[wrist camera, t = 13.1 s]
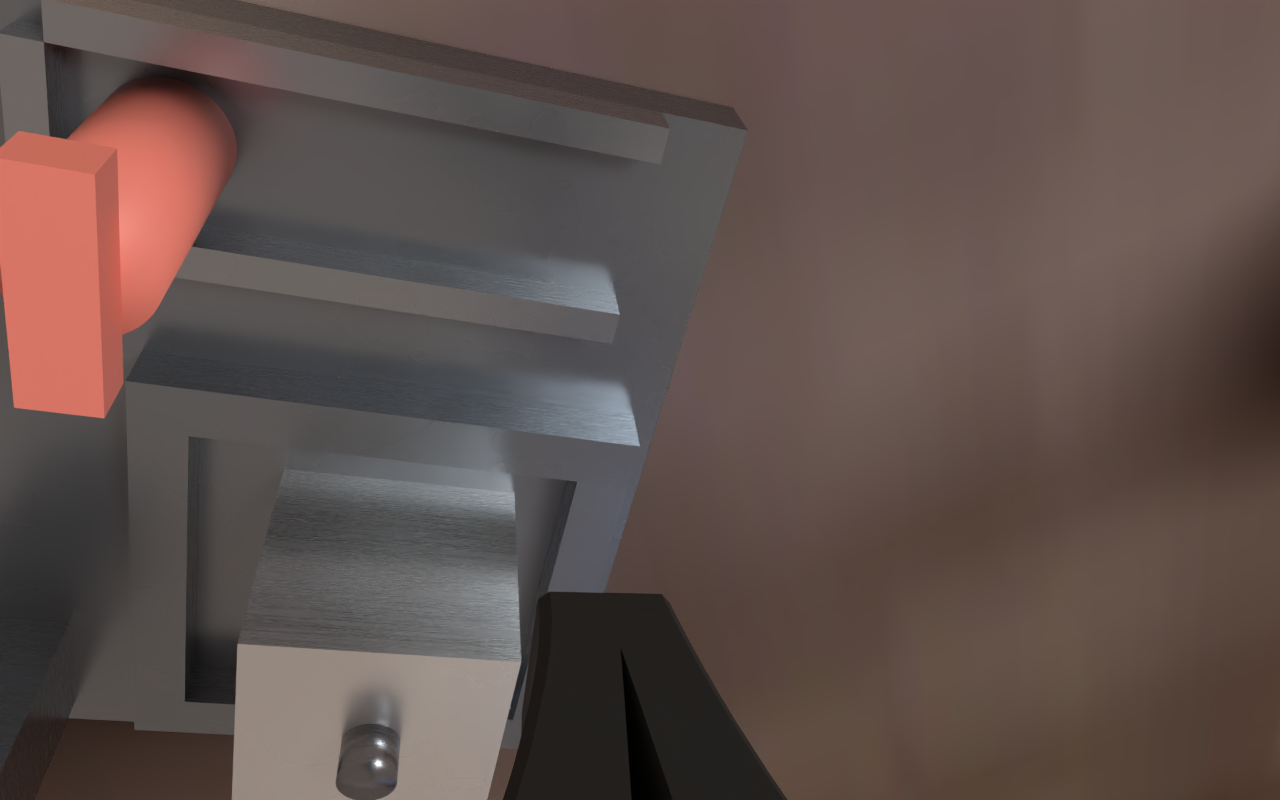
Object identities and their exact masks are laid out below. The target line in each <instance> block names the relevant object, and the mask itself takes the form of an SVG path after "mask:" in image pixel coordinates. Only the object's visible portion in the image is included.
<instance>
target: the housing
mask: <svg viewBox="0 0 1280 800" xmlns="http://www.w3.org/2000/svg"><path fill="white" fill-rule="evenodd" d="M520 665H521V644H520V620H519V595H518V570H517V546H516V521H515V496H514V493H511V492H501V491H492V490H482V489H472V488H463V487H453V486H443V485H434V484H424V483H414V482H405V481H395V480H385V479H376V478H366V477H356V476H347V475H337V474H327V473H318V472H308V471H298V470H289V469H284V471H283V475H282V478H281V482H280V486H279V490H278V493H277V497H276V501H275V505H274V508H273V512H272V516H271V520H270V523H269V527H268V531H267V535H266V538H265V542H264V546H263V550H262V553H261V557H260V561H259V565H258V568H257V572H256V576H255V580H254V584H253V587H252V591H251V595H250V599H249V602H248V606H247V610H246V614H245V617H244V621H243V625H242V629H241V632H240V636H239V640H238V644H237V670H236V698H235V727H234V755H233V784H232V800H487V798H488V794H489V790H490V785H491V781H492V777H493V773H494V769H495V765H496V761H497V757H498V753H499V749H500V745H501V741H502V737H503V733H504V729H505V725H506V721H507V717H508V713H509V709H510V705H511V701H512V697H513V693H514V689H515V685H516V681H517V677H518V673H519V669H520Z"/></svg>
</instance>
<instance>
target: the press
mask: <svg viewBox="0 0 1280 800" xmlns="http://www.w3.org/2000/svg"><path fill="white" fill-rule="evenodd" d="M142 77H166V78H172V79H176V80H179V81H182V82H185V83H187V84H189V85H191V86H193V87H195V88H197V89H199V90H200V91H202V92H203V93H205V94H206V95H207V96H208V97H210V98H211V99H212V100H213V101H214V102H215V103H216V104H217V105H218V106H219V107H220V109H221V110H222V111H223V112H224V114H225V115H226V117H227V119H228V120H229V122H230V124H231V126H232V128H233V131H234V134H235V138H236V143H237V159H236V164H235V168H234V170H233V172H232V175H231V177H230V178H229V180H228V182H227V184H226V186H225V187H224V189H223V191H222V193H221V195H220V196H219V198H218V200H217V202H216V204H215V205H214V207H213V209H212V211H211V213H210V214H209V216H208V218H207V220H206V222H205V223H204V225H203V227H202V229H201V231H200V232H199V234H198V236H197V238H196V240H195V241H194V243H193V245H192V247H191V249H190V250H189V252H188V254H187V256H186V258H185V259H184V261H183V263H182V265H181V267H180V269H179V270H178V272H177V274H176V276H175V278H174V279H173V281H172V283H171V285H170V287H169V288H168V290H167V292H166V294H165V296H164V297H163V299H162V301H161V303H160V305H159V306H158V308H157V309H156V311H155V312H154V314H153V315H152V316H151V317H150V318H149V319H148V320H147V321H146V322H145V323H144V324H142V325H141V326H140V327H138V328H136V329H134V330H133V331H131V332H128V333H125V334H123V335H122V344H123V382H124V383H123V385H122V387H121V389H120V391H119V392H118V394H117V396H116V398H115V400H114V402H113V404H112V405H111V407H110V409H109V411H108V413H107V415H106V416H105V418H97V417H88V416H80V415H71V414H63V413H55V412H46V411H38V410H29V409H21V408H14V402H13V391H12V381H11V371H10V360H9V350H8V339H7V329H6V319H5V308H4V298H3V297H2V295H1V294H0V800H34V799H35V797H36V795H37V792H38V790H39V787H40V785H41V783H42V780H43V778H44V775H45V773H46V771H47V768H48V766H49V763H50V761H51V759H52V756H53V754H54V751H55V749H56V747H57V744H58V742H59V739H60V737H61V735H62V732H63V730H64V727H65V725H66V723H67V720H68V718H74V719H94V720H113V721H132V722H134V730H146V731H165V732H185V733H205V734H225V735H234V727H235V698H236V670H237V644H238V640H239V636H240V632H241V629H242V625H243V621H244V617H245V614H246V610H247V606H248V602H249V599H250V595H251V591H252V587H253V584H254V580H255V576H256V572H257V568H258V565H259V561H260V557H261V553H262V550H263V546H264V542H265V538H266V535H267V531H268V527H269V523H270V520H271V516H272V512H273V508H274V505H275V501H276V497H277V493H278V490H279V486H280V482H281V478H282V475H283V471H284V469H289V470H298V471H308V472H318V473H327V474H337V475H347V476H356V477H366V478H376V479H385V480H395V481H405V482H414V483H424V484H434V485H443V486H453V487H463V488H472V489H482V490H492V491H501V492H511V493H514V496H515V521H516V546H517V570H518V595H519V620H520V644H521V665H520V669H519V673H518V677H517V681H516V685H515V689H514V693H513V697H512V701H511V705H510V709H509V713H508V717H507V721H506V725H505V729H504V733H503V737H502V741H501V745H500V748H502V749H518V747H519V743H520V739H521V726H522V707H523V700H524V693H525V686H526V679H527V672H528V665H529V658H530V650H531V643H532V636H533V629H534V622H535V615H536V608H537V601H538V599H539V598H540V597H542V596H543V595H545V594H547V593H548V592H591V593H604V591H605V588H606V585H607V582H608V579H609V575H610V572H611V569H612V566H613V562H614V559H615V556H616V553H617V550H618V546H619V543H620V540H621V537H622V534H623V530H624V527H625V524H626V521H627V517H628V514H629V511H630V508H631V505H632V501H633V498H634V495H635V492H636V488H637V485H638V482H639V479H640V476H641V472H642V469H643V466H644V463H645V460H646V456H647V453H648V450H649V447H650V443H651V440H652V437H653V434H654V431H655V427H656V424H657V421H658V418H659V414H660V411H661V408H662V405H663V402H664V398H665V395H666V392H667V389H668V386H669V382H670V379H671V376H672V373H673V369H674V366H675V363H676V360H677V357H678V353H679V350H680V347H681V344H682V341H683V337H684V334H685V331H686V328H687V324H688V321H689V318H690V315H691V312H692V308H693V305H694V302H695V299H696V295H697V292H698V289H699V286H700V283H701V279H702V276H703V273H704V270H705V267H706V263H707V260H708V257H709V254H710V250H711V247H712V244H713V241H714V238H715V234H716V231H717V228H718V225H719V222H720V218H721V215H722V212H723V209H724V205H725V202H726V199H727V196H728V193H729V189H730V186H731V183H732V180H733V176H734V173H735V170H736V167H737V164H738V160H739V157H740V154H741V151H742V148H743V144H744V141H745V138H746V135H747V131H748V130H747V128H746V127H745V125H744V124H743V122H742V121H741V119H740V118H739V116H738V115H737V113H736V111H735V110H734V108H731V107H727V106H722V105H717V104H713V103H708V102H703V101H699V100H694V99H690V98H685V97H680V96H676V95H671V94H667V93H662V92H657V91H653V90H648V89H643V88H639V87H634V86H630V85H625V84H620V83H616V82H611V81H606V80H602V79H597V78H593V77H588V76H583V75H579V74H574V73H569V72H565V71H560V70H556V69H551V68H546V67H542V66H537V65H532V64H528V63H523V62H519V61H514V60H509V59H505V58H500V57H496V56H491V55H486V54H482V53H477V52H472V51H468V50H463V49H459V48H454V47H449V46H445V45H440V44H435V43H431V42H426V41H422V40H417V39H412V38H408V37H403V36H398V35H394V34H389V33H385V32H380V31H375V30H371V29H366V28H361V27H357V26H352V25H348V24H343V23H338V22H334V21H329V20H324V19H320V18H315V17H311V16H306V15H301V14H297V13H292V12H288V11H283V10H278V9H274V8H269V7H264V6H260V5H255V4H251V3H246V2H241V1H237V0H0V147H1V146H2V145H4V144H5V143H6V142H7V141H8V140H9V139H10V138H12V137H13V136H14V135H15V134H16V133H17V132H18V131H23V132H28V133H34V134H40V135H45V136H51V137H56V138H62V139H67V138H68V137H69V136H70V135H71V134H72V133H73V132H74V131H75V130H76V129H77V128H78V127H79V126H80V125H81V124H82V123H83V122H84V121H85V120H86V119H87V118H88V117H89V116H90V115H91V114H92V113H93V112H94V111H95V110H96V109H97V108H98V107H99V106H100V105H101V104H102V103H103V102H104V101H105V100H106V99H107V98H108V97H109V96H110V95H111V94H112V93H113V92H114V91H115V90H116V89H118V88H119V87H120V86H122V85H123V84H125V83H127V82H129V81H132V80H135V79H138V78H142Z"/></svg>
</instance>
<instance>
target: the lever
mask: <svg viewBox="0 0 1280 800" xmlns="http://www.w3.org/2000/svg"><path fill="white" fill-rule="evenodd" d="M236 159H237V143H236V138H235V134H234V131H233V128H232V126H231V124H230V122H229V120H228V119H227V117H226V115H225V114H224V112H223V111H222V110H221V109H220V107H219V106H218V105H217V104H216V103H215V102H214V101H213V100H212V99H211V98H210V97H208V96H207V95H206V94H205V93H203V92H202V91H200V90H199V89H197V88H195V87H193V86H191V85H189V84H187V83H185V82H182V81H179V80H176V79H172V78H166V77H142V78H138V79H135V80H132V81H129V82H127V83H125V84H123V85H122V86H120V87H119V88H118V89H116V90H115V91H114V92H113V93H112V94H111V95H110V96H109V97H108V98H107V99H106V100H105V101H104V102H103V103H102V104H101V105H100V106H99V107H98V108H97V109H96V110H95V111H94V112H93V113H92V114H91V115H90V116H89V117H88V118H87V119H86V120H85V121H84V122H83V123H82V124H81V125H80V126H79V127H78V128H77V129H76V130H75V131H74V132H73V133H72V134H71V135H70V136H69V137H68V138H67V139H62V138H56V137H51V136H45V135H40V134H34V133H28V132H23V131H18V132H17V133H16V134H15V135H14V136H13V137H12V138H10V139H9V140H8V141H7V142H6V143H5V144H4V145H2V146H1V147H0V294H1V295H2V297H3V298H4V308H5V319H6V329H7V339H8V350H9V360H10V371H11V381H12V391H13V402H14V408H21V409H29V410H38V411H46V412H55V413H63V414H71V415H80V416H88V417H97V418H105V416H106V415H107V413H108V411H109V409H110V407H111V405H112V404H113V402H114V400H115V398H116V396H117V394H118V392H119V391H120V389H121V387H122V385H123V383H124V382H123V344H122V335H123V334H125V333H128V332H131V331H133V330H134V329H136V328H138V327H140V326H141V325H142V324H144V323H145V322H146V321H147V320H148V319H149V318H150V317H151V316H152V315H153V314H154V312H155V311H156V309H157V308H158V306H159V305H160V303H161V301H162V299H163V297H164V296H165V294H166V292H167V290H168V288H169V287H170V285H171V283H172V281H173V279H174V278H175V276H176V274H177V272H178V270H179V269H180V267H181V265H182V263H183V261H184V259H185V258H186V256H187V254H188V252H189V250H190V249H191V247H192V245H193V243H194V241H195V240H196V238H197V236H198V234H199V232H200V231H201V229H202V227H203V225H204V223H205V222H206V220H207V218H208V216H209V214H210V213H211V211H212V209H213V207H214V205H215V204H216V202H217V200H218V198H219V196H220V195H221V193H222V191H223V189H224V187H225V186H226V184H227V182H228V180H229V178H230V177H231V175H232V172H233V170H234V168H235V164H236Z"/></svg>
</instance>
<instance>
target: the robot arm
mask: <svg viewBox="0 0 1280 800" xmlns="http://www.w3.org/2000/svg"><path fill="white" fill-rule="evenodd" d="M503 800H787V799H786V797H785V796H784V794H783V793H782V791H781V790H780V788H779V787H778V785H777V784H776V782H775V781H774V780H773V778H772V777H771V775H770V774H769V772H768V771H767V769H766V768H765V766H764V764H763V763H762V761H761V760H760V758H759V757H758V755H757V754H756V752H755V750H754V749H753V747H752V746H751V744H750V743H749V741H748V740H747V738H746V736H745V735H744V733H743V732H742V730H741V729H740V727H739V726H738V724H737V723H736V721H735V719H734V718H733V716H732V714H731V713H730V711H729V709H728V708H727V706H726V704H725V703H724V701H723V700H722V698H721V696H720V694H719V693H718V691H717V689H716V688H715V686H714V684H713V682H712V681H711V679H710V677H709V675H708V674H707V672H706V670H705V669H704V667H703V665H702V663H701V661H700V660H699V658H698V656H697V654H696V652H695V651H694V649H693V647H692V645H691V643H690V641H689V640H688V638H687V636H686V634H685V632H684V630H683V628H682V626H681V624H680V623H679V621H678V619H677V617H676V615H675V613H674V611H673V609H672V607H671V605H670V603H669V602H668V601H667V599H666V598H665V597H664V596H663V595H662V594H633V593H591V592H548V593H547V594H545V595H543V596H542V597H540V598H539V599H538V601H537V608H536V615H535V622H534V629H533V636H532V643H531V650H530V658H529V665H528V672H527V679H526V686H525V693H524V700H523V707H522V726H521V739H520V743H519V747H518V751H517V755H516V759H515V762H514V766H513V770H512V773H511V776H510V779H509V783H508V786H507V789H506V792H505V795H504V798H503Z"/></svg>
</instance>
